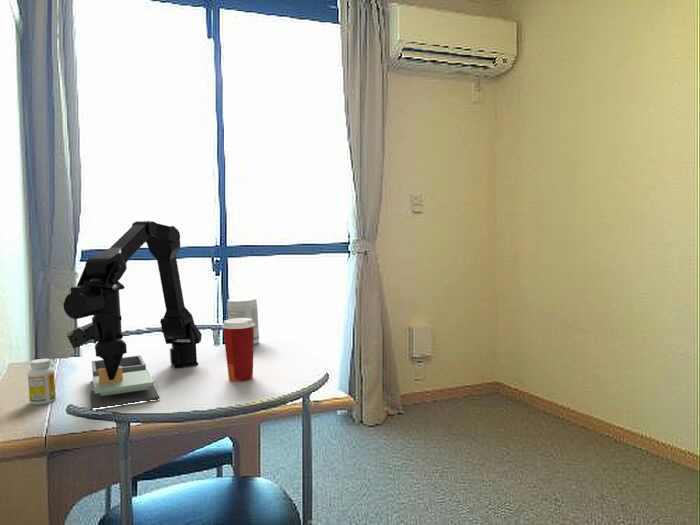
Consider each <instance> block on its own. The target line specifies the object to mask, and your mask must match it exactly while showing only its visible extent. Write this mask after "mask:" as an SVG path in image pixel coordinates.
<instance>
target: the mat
mask: <svg viewBox="0 0 700 525" xmlns="http://www.w3.org/2000/svg"><path fill="white" fill-rule="evenodd" d="M89 392H90V394H89V395H90V402H91V409H92V408H100V407H107V406H115V405H123V404H128V403H135V402H140V401H150V400H158V399H159V400H160V395H159V394H158V391H157V390H156V387H155V385H154V386H148V389H147V390H140V391H132V392H125V393H118V394H111V395H104V396H101V395H100V393H96V394H95V392H94V389H89Z"/></svg>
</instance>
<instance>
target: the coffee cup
mask: <svg viewBox="0 0 700 525" xmlns="http://www.w3.org/2000/svg"><path fill="white" fill-rule="evenodd" d="M254 326H255V324H254V323H253V320H252V319H250V318H234V319H228V318H227V319H226V320H225V319H224V321H223V323H222V325H221V328H222V329H223V337H224V339H223V340H224V346H225V348H224V349H225V358H226V365H227V373H228V380H229V381H230V382H234V383H235V382H237V383H239V382H240V383H241V382H248V381H250V380H252V379H253V377H254V345H253V339H254Z"/></svg>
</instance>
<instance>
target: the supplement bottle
mask: <svg viewBox="0 0 700 525" xmlns="http://www.w3.org/2000/svg"><path fill="white" fill-rule="evenodd" d="M50 366H51V359H50V358H38V359H33V360H32V361H30V368H31V370H29V372H28V374H27V380H28V381H27V382H28V394H29V395H28V396H29V404H30V405H34V406H37V405H38V406H40V405H46V404H49V403H52V402H54V401H55V400H56V399H57V398H56V382H55V380H56V379H55V370H54V369H53V368H52V367H50Z"/></svg>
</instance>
